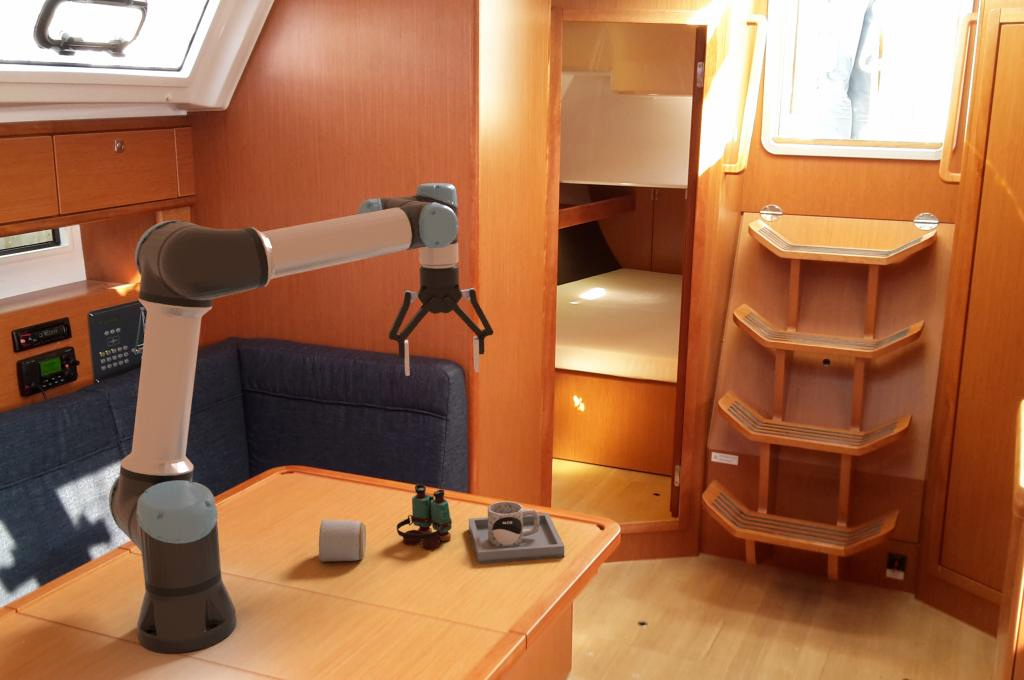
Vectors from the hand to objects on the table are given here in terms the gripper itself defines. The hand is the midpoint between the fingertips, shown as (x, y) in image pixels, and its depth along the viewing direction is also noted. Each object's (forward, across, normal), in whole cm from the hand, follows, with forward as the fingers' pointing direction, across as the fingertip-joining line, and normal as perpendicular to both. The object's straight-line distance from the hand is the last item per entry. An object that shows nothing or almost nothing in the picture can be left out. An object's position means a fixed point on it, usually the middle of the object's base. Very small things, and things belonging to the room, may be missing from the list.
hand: (442, 372), depth 202 cm
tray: (+31, -12, +14) cm, 36 cm away
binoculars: (+31, +5, +11) cm, 33 cm away
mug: (+30, -12, +14) cm, 35 cm away
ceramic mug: (+31, +21, +14) cm, 40 cm away
